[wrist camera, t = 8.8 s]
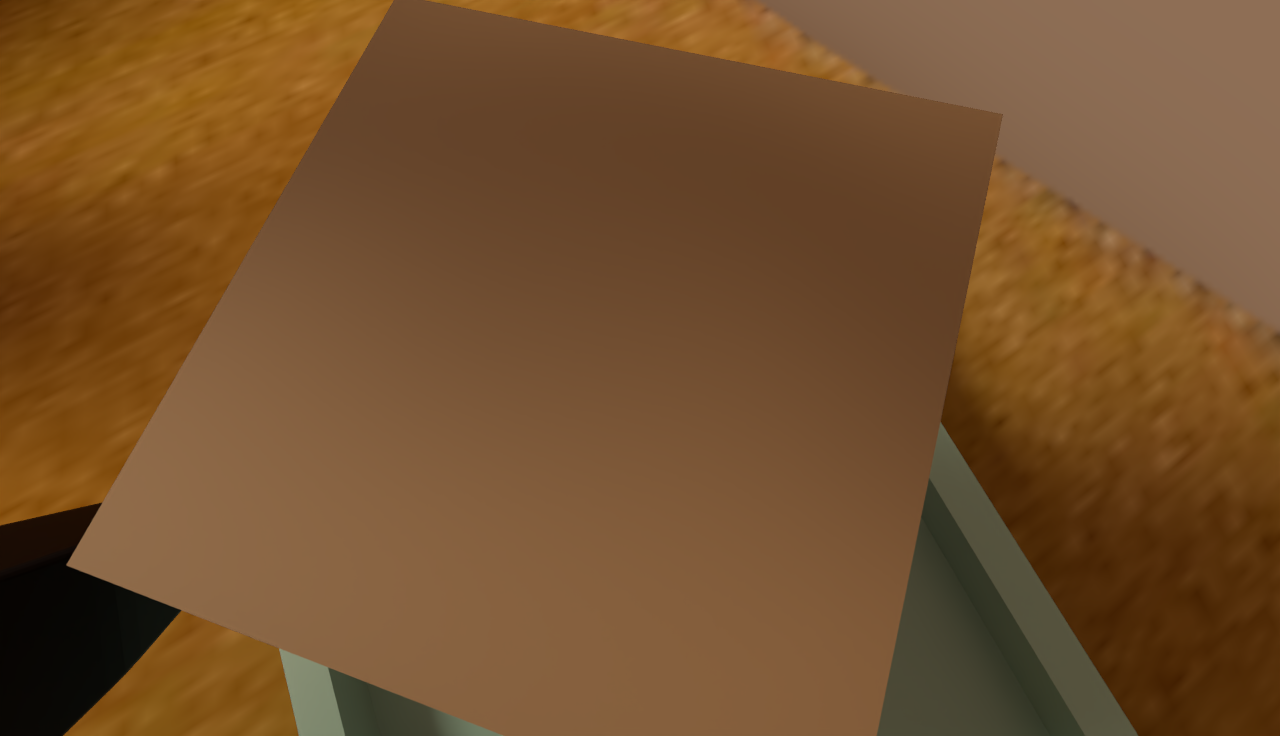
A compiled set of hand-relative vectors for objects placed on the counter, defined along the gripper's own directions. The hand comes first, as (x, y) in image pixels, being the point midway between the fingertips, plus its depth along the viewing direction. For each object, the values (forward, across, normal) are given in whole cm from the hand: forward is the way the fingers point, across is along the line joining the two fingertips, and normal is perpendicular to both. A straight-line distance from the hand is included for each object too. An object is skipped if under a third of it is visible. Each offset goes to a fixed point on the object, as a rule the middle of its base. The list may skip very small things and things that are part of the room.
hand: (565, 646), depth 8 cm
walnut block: (+7, 0, +4) cm, 8 cm away
